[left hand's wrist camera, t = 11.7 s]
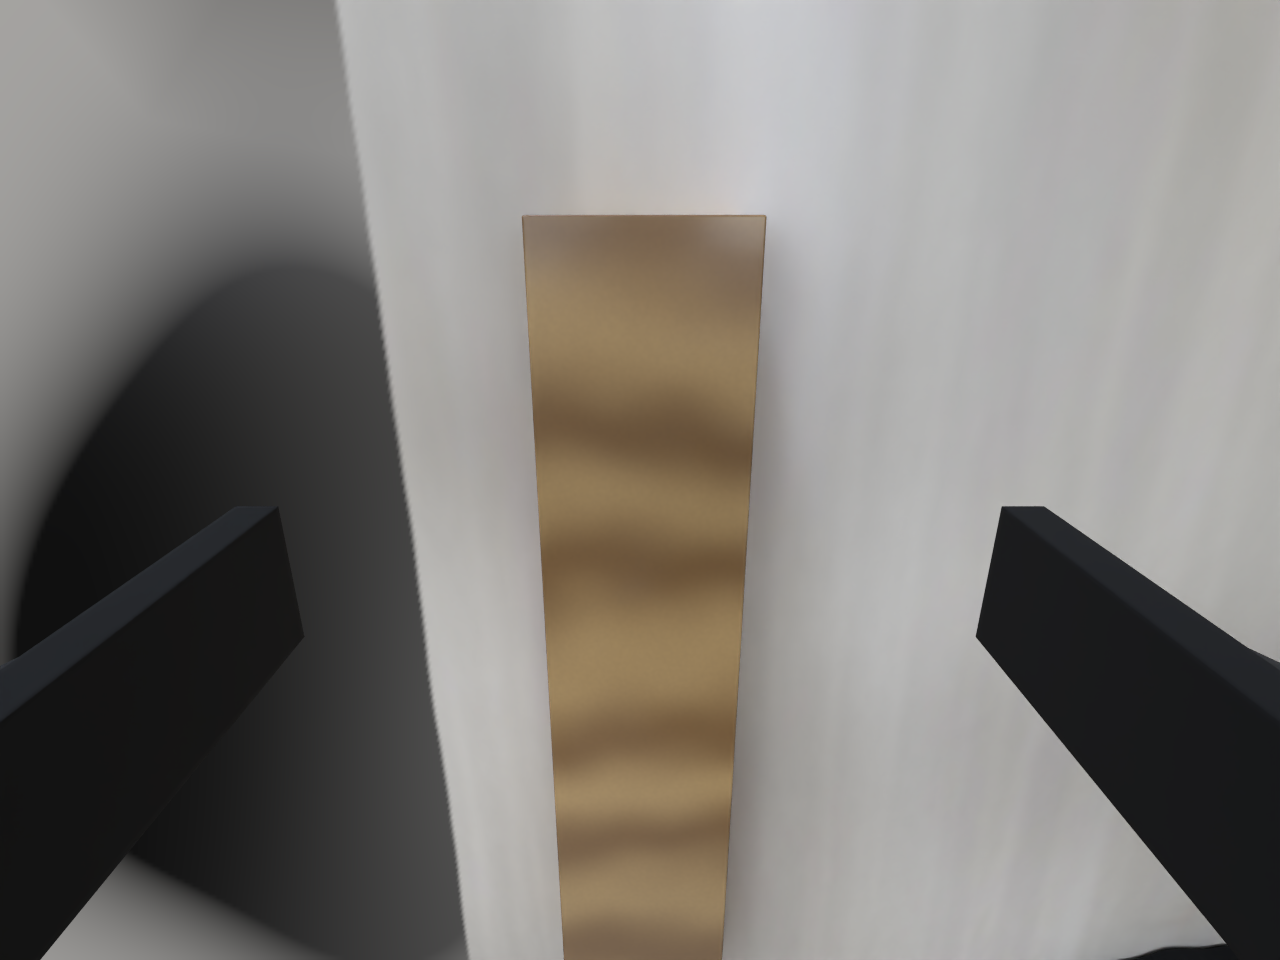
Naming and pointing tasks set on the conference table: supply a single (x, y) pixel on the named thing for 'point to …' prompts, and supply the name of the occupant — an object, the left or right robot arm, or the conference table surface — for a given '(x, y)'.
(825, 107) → the conference table surface
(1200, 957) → the sign
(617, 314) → the thick board
